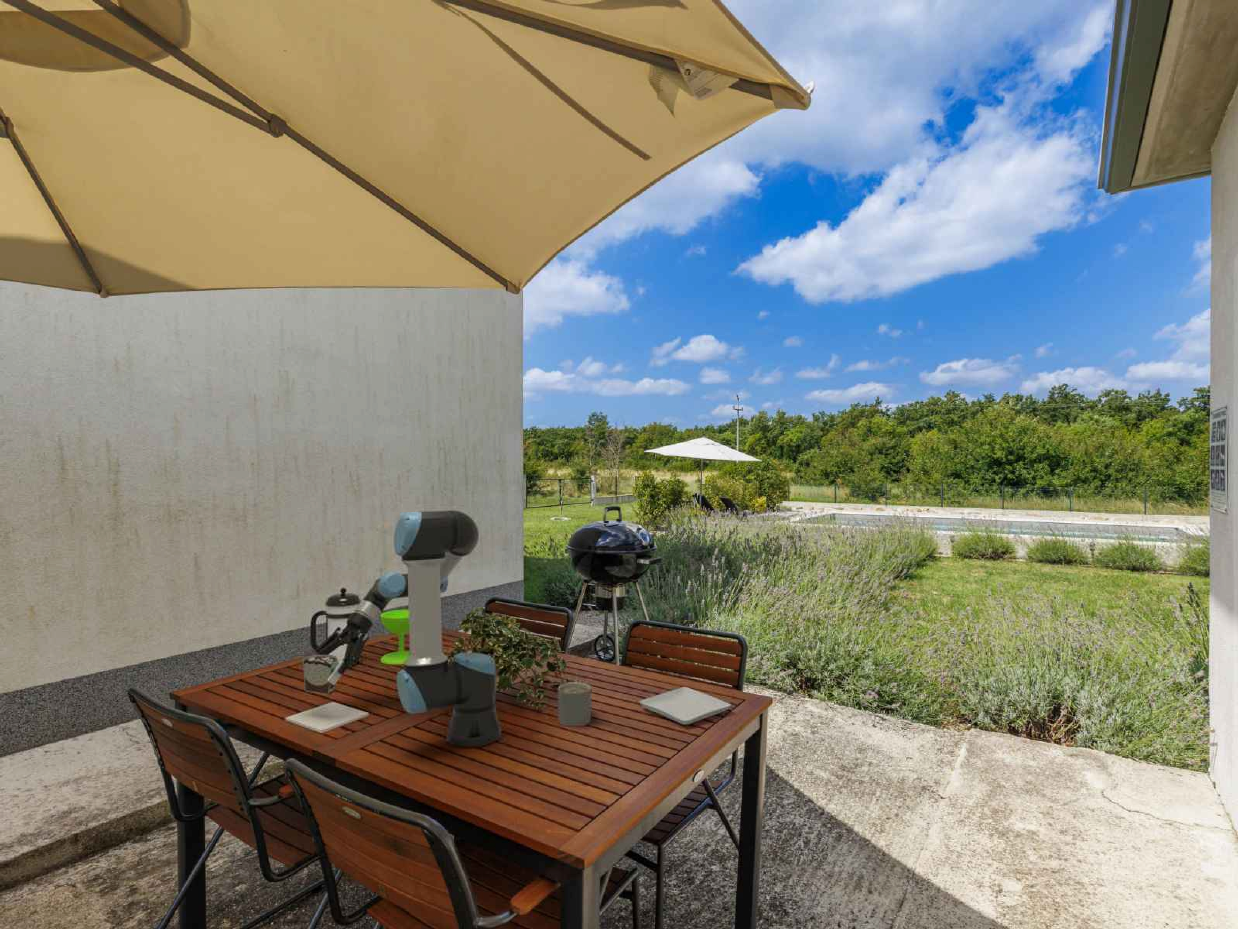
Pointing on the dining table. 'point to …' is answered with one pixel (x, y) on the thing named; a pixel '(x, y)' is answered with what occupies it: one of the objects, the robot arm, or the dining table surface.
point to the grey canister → (574, 704)
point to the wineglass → (398, 625)
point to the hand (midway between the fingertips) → (319, 679)
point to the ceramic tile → (326, 717)
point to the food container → (319, 673)
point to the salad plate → (685, 705)
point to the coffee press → (336, 619)
